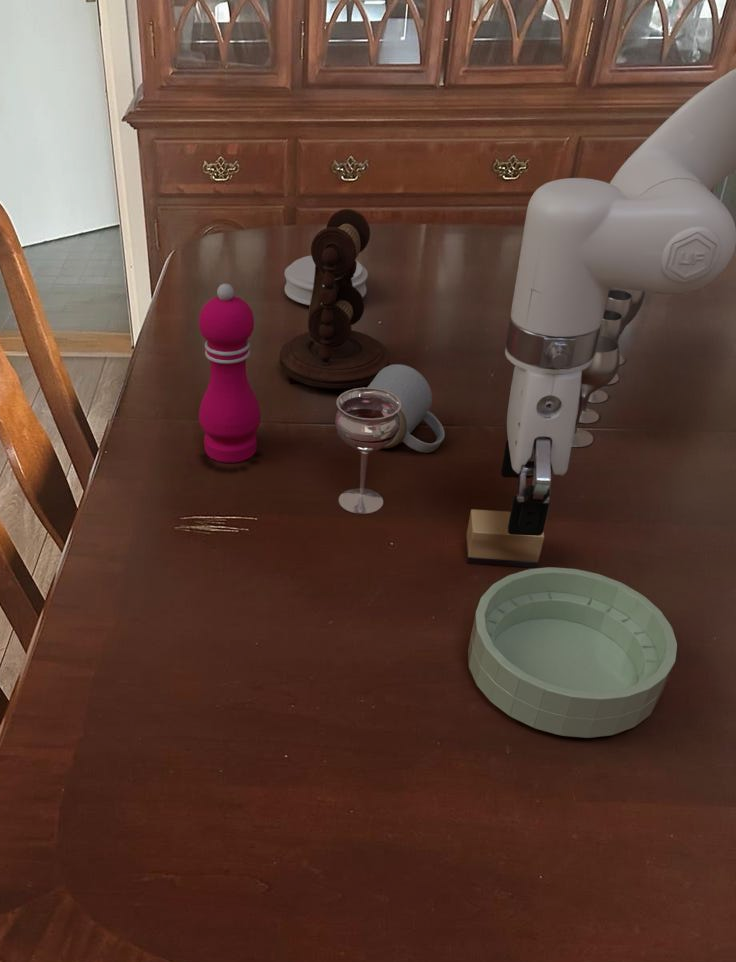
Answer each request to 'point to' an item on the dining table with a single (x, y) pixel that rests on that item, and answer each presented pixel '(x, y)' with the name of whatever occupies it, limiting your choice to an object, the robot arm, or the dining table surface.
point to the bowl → (570, 651)
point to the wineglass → (366, 436)
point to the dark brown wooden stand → (335, 314)
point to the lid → (303, 279)
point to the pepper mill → (228, 379)
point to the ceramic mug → (410, 405)
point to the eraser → (499, 541)
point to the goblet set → (605, 357)
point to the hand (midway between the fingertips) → (520, 503)
